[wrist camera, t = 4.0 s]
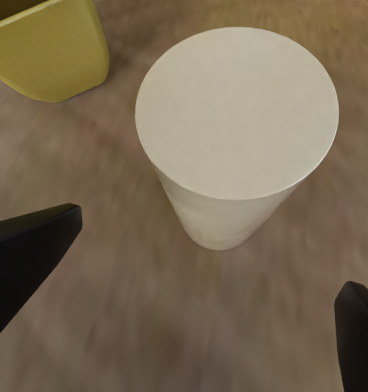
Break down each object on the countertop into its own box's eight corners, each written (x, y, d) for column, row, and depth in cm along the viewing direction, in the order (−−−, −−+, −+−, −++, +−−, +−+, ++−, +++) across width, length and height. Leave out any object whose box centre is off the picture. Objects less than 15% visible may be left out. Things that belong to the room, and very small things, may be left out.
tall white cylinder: (270, 238, 19) (377, 166, 7) (190, 259, 19) (156, 224, 7) (244, 165, 21) (293, 6, 9) (171, 184, 21) (119, 53, 9)
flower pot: (20, 60, 27) (-69, -43, 18) (101, 25, 27) (51, -92, 19) (43, 129, 24) (-49, 45, 15) (132, 89, 24) (90, -13, 16)
